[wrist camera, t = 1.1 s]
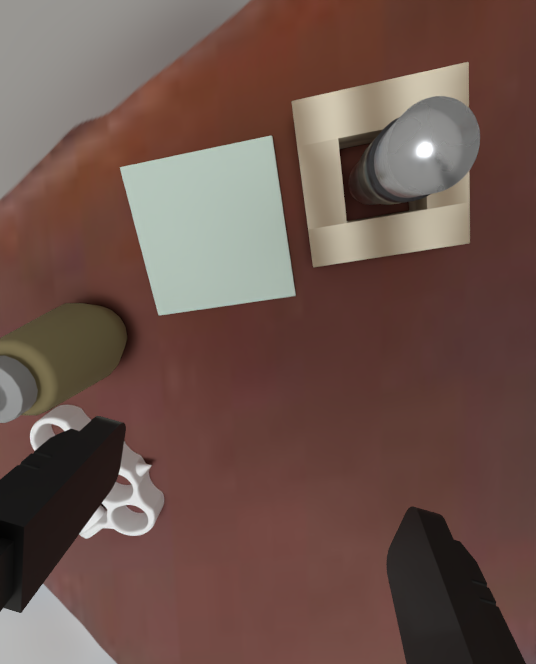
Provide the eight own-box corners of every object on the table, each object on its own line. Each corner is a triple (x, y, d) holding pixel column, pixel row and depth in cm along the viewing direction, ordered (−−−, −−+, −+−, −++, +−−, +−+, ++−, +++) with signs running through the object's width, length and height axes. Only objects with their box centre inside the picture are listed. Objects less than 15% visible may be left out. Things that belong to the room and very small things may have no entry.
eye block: (441, 87, 29) (468, 61, 24) (445, 239, 32) (469, 243, 28) (293, 119, 31) (291, 101, 26) (312, 260, 34) (313, 267, 29)
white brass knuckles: (10, 443, 45) (87, 381, 41) (110, 540, 48) (190, 491, 44) (-12, 460, 42) (69, 395, 38) (96, 563, 45) (181, 512, 41)
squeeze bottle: (102, 279, 37) (-75, 332, 20) (153, 341, 38) (31, 440, 21) (50, 322, 39) (-151, 405, 22) (101, 379, 40) (-49, 499, 23)
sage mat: (272, 136, 31) (271, 135, 31) (295, 294, 35) (295, 295, 35) (122, 168, 33) (119, 167, 33) (160, 314, 37) (158, 315, 37)
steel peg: (395, 148, 31) (484, 80, 15) (399, 202, 32) (484, 188, 17) (343, 158, 31) (379, 102, 16) (348, 211, 32) (386, 205, 17)
